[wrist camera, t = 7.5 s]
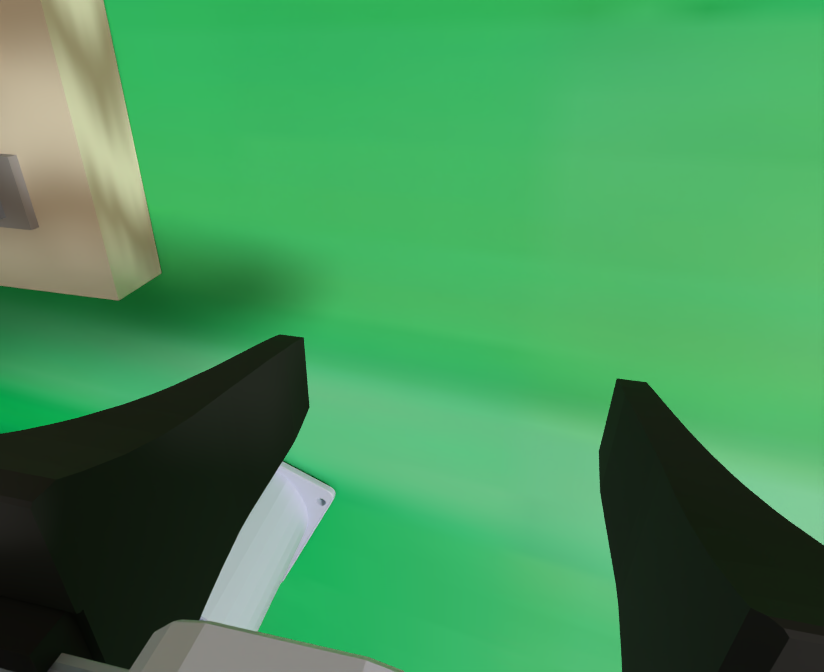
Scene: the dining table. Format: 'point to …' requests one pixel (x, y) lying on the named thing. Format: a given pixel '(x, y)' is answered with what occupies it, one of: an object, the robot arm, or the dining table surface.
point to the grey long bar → (2, 212)
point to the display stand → (68, 156)
